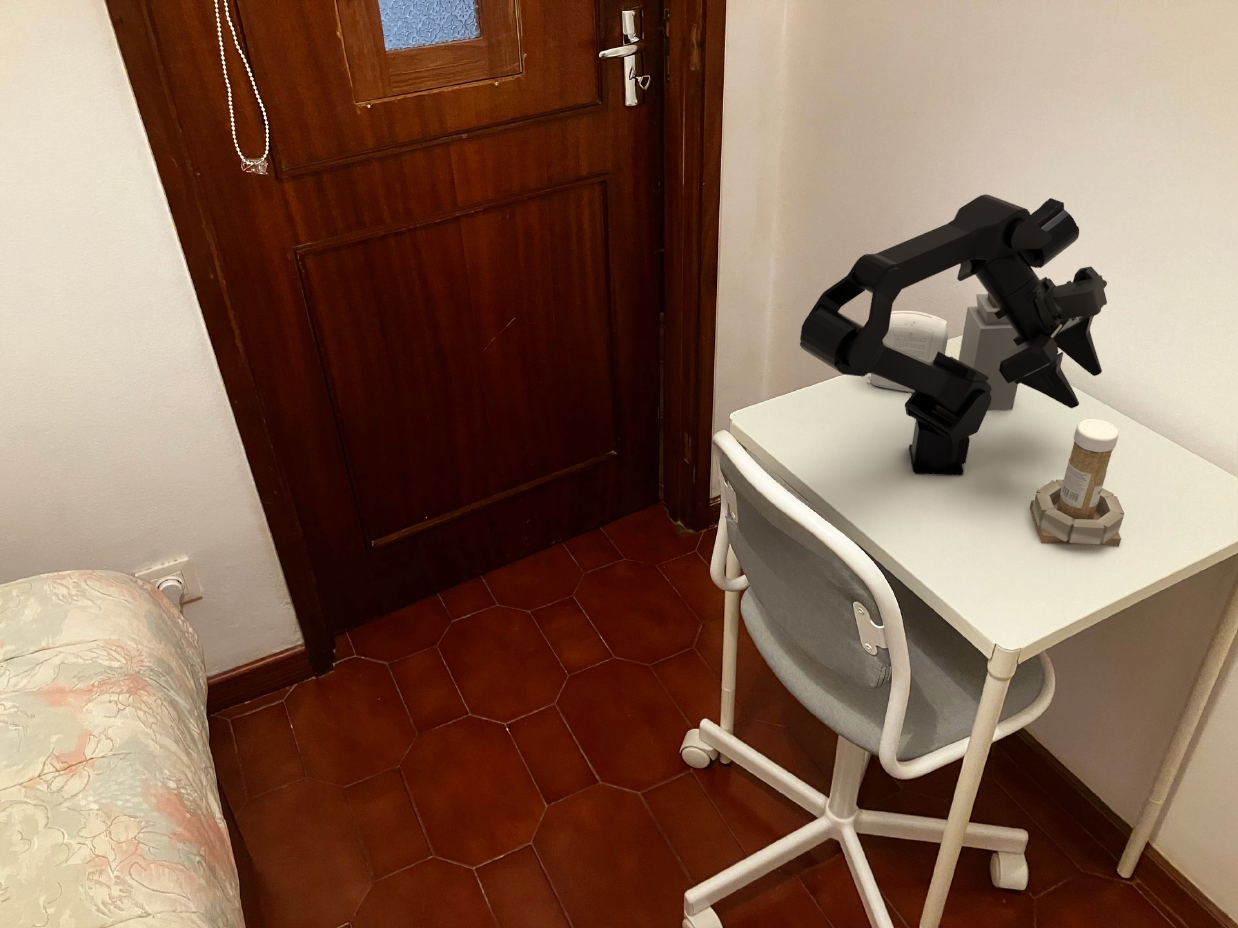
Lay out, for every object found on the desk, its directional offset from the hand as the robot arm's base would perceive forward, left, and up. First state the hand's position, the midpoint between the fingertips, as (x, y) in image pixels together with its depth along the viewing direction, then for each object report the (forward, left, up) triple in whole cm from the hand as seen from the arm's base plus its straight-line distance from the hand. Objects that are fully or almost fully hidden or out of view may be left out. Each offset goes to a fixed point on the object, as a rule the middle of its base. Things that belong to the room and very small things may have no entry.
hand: (1087, 390), depth 126 cm
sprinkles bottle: (-2, -10, -13) cm, 16 cm away
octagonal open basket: (-1, -10, -14) cm, 17 cm away
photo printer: (-18, +23, -14) cm, 32 cm away
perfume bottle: (-7, +20, -14) cm, 25 cm away
